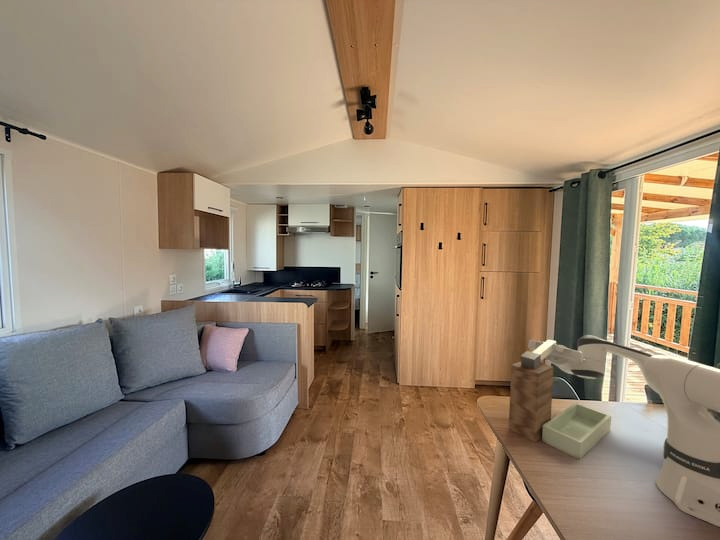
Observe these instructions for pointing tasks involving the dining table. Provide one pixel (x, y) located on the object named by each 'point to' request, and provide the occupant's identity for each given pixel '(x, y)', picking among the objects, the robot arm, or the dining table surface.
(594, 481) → the dining table surface
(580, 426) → the bin
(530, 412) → the stand
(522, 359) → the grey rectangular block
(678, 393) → the robot arm
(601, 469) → the dining table surface
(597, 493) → the dining table surface
